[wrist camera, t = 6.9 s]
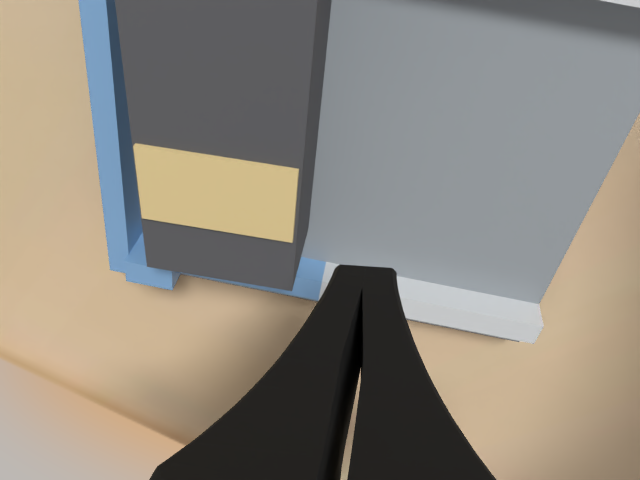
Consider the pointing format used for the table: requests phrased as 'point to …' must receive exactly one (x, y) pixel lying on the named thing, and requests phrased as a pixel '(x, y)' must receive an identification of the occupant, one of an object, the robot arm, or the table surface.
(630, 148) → the table surface
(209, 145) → the block
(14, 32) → the table surface
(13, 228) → the table surface
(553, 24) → the tray
